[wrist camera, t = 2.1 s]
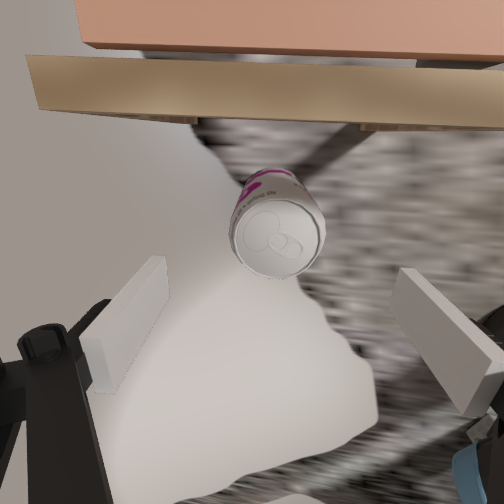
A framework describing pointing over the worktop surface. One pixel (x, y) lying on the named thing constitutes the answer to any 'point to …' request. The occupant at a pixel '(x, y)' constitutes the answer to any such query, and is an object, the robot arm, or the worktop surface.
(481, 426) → the coffee box
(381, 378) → the worktop surface
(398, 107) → the trapdoor frame
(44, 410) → the robot arm
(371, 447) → the worktop surface
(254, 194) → the supplement can
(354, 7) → the trapdoor
